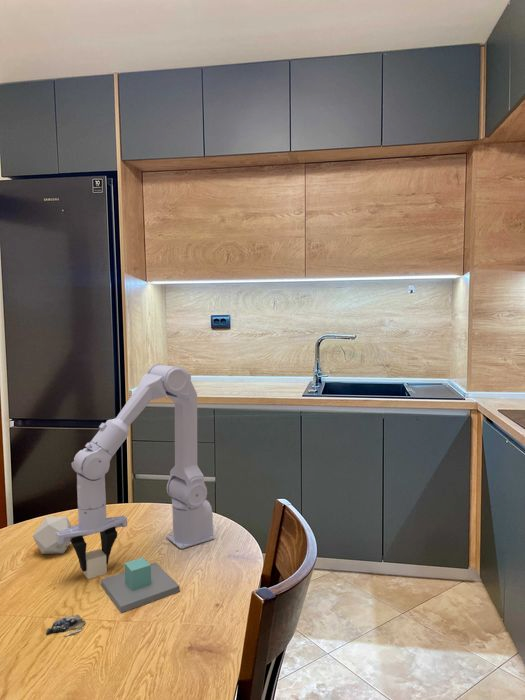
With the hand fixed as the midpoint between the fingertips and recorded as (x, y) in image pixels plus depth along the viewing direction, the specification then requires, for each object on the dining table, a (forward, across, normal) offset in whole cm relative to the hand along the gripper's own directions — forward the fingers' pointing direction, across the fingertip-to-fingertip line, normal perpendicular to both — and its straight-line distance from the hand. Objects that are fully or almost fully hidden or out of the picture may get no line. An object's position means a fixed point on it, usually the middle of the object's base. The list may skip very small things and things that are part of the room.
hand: (94, 566), depth 107 cm
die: (+2, +4, -16) cm, 17 cm away
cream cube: (+1, 0, 0) cm, 1 cm away
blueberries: (+2, +11, +16) cm, 20 cm away
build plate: (+1, -6, +12) cm, 13 cm away
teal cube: (0, -5, +12) cm, 13 cm away
